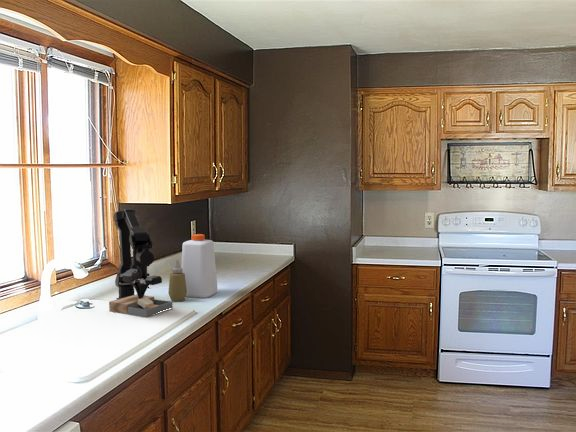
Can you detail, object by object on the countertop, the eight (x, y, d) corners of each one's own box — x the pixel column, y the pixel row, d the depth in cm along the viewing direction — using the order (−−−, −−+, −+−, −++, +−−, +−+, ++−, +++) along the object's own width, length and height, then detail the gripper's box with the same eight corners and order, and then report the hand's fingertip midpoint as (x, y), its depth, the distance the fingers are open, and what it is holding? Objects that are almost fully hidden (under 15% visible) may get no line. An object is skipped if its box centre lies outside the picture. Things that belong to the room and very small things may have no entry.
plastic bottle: (207, 299, 264) (206, 237, 262) (176, 297, 268) (175, 236, 266) (220, 292, 278) (219, 233, 276) (191, 290, 283) (190, 232, 280)
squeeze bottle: (178, 303, 256) (177, 262, 254) (164, 301, 260) (163, 260, 259) (190, 299, 263) (190, 259, 261) (177, 297, 267) (176, 258, 265)
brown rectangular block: (109, 311, 242) (109, 301, 242) (136, 303, 256) (136, 294, 256) (127, 314, 237) (127, 304, 237) (154, 305, 251) (154, 296, 251)
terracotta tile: (154, 308, 238) (154, 312, 238) (162, 305, 242) (162, 310, 242) (146, 306, 240) (146, 311, 240) (153, 304, 244) (153, 309, 244)
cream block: (137, 303, 242) (138, 299, 241) (144, 301, 246) (146, 296, 245) (144, 308, 240) (146, 304, 239) (152, 306, 244) (153, 302, 243)
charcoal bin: (127, 314, 237) (127, 307, 237) (154, 306, 251) (154, 299, 251) (146, 317, 232) (146, 309, 232) (172, 308, 246) (172, 301, 246)
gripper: (108, 262, 240) (109, 300, 241) (143, 266, 231) (144, 305, 232) (128, 259, 250) (129, 295, 251) (162, 262, 241) (163, 300, 242)
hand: (140, 299), depth 244 cm, fingers closed
